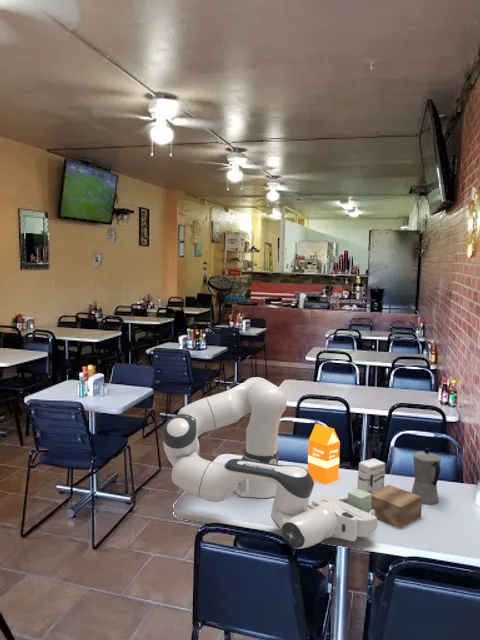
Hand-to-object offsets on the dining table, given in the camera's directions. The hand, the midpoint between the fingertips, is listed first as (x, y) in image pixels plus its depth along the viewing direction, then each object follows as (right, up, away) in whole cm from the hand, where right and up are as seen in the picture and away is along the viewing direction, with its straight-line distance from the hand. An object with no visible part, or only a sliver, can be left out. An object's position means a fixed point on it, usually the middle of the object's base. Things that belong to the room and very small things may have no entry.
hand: (360, 506), depth 154 cm
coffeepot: (+27, -5, +19) cm, 34 cm away
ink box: (+9, -5, +22) cm, 24 cm away
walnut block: (+12, -6, +7) cm, 15 cm away
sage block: (0, -6, 0) cm, 6 cm away
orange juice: (-5, -3, +36) cm, 37 cm away
